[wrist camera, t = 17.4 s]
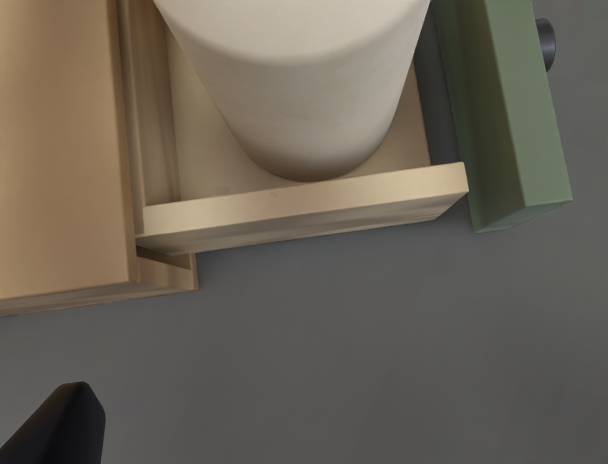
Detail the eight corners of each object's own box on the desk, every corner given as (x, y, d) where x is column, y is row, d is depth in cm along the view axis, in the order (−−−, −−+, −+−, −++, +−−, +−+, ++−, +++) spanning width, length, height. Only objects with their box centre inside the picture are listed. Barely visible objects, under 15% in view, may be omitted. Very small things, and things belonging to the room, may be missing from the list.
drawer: (489, -52, 19) (541, -171, 14) (545, 223, 17) (624, 193, 12) (149, 1, 19) (89, -97, 14) (174, 274, 18) (116, 263, 13)
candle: (212, 168, 17) (40, -26, 7) (246, 15, 18) (135, -358, 8) (378, 198, 16) (445, 35, 7) (406, 38, 17) (505, -326, 7)
